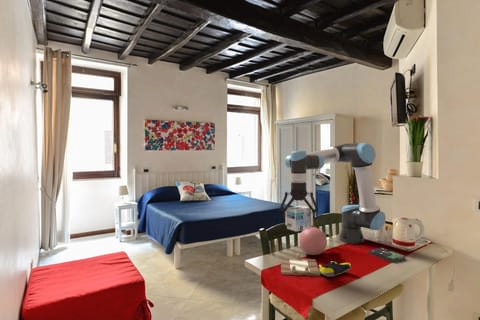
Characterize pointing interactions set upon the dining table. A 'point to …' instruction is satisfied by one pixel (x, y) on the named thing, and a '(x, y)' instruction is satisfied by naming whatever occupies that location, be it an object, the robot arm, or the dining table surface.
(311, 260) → the pin board
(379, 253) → the disk drive
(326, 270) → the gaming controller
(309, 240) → the balloon
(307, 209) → the light bulb box
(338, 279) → the dining table surface
